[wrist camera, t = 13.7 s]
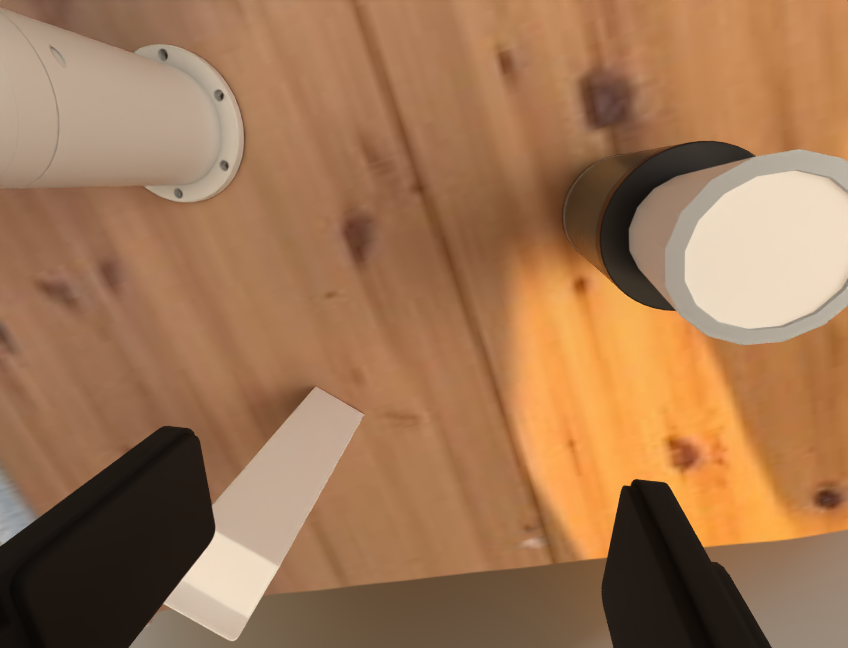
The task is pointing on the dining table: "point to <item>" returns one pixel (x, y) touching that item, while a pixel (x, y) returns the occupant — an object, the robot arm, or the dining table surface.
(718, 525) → the dining table surface
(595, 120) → the dining table surface
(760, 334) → the shot glass
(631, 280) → the green can
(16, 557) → the robot arm
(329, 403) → the milk
